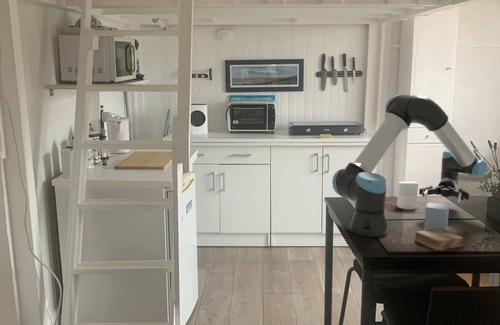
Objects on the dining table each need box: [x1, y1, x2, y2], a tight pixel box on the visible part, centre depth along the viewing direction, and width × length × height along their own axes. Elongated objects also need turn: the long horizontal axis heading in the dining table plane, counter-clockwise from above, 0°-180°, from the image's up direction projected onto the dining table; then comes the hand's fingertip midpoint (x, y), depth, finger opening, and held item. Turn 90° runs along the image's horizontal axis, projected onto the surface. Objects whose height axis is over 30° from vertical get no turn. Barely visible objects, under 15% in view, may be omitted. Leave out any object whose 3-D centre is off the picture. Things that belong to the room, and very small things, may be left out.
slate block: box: [423, 202, 450, 231], centre depth 198 cm, size 8×8×11 cm
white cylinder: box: [396, 181, 419, 210], centre depth 236 cm, size 9×9×12 cm
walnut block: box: [414, 228, 464, 251], centre depth 186 cm, size 12×12×4 cm
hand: (441, 198), depth 206 cm, fingers open, 13 cm apart
